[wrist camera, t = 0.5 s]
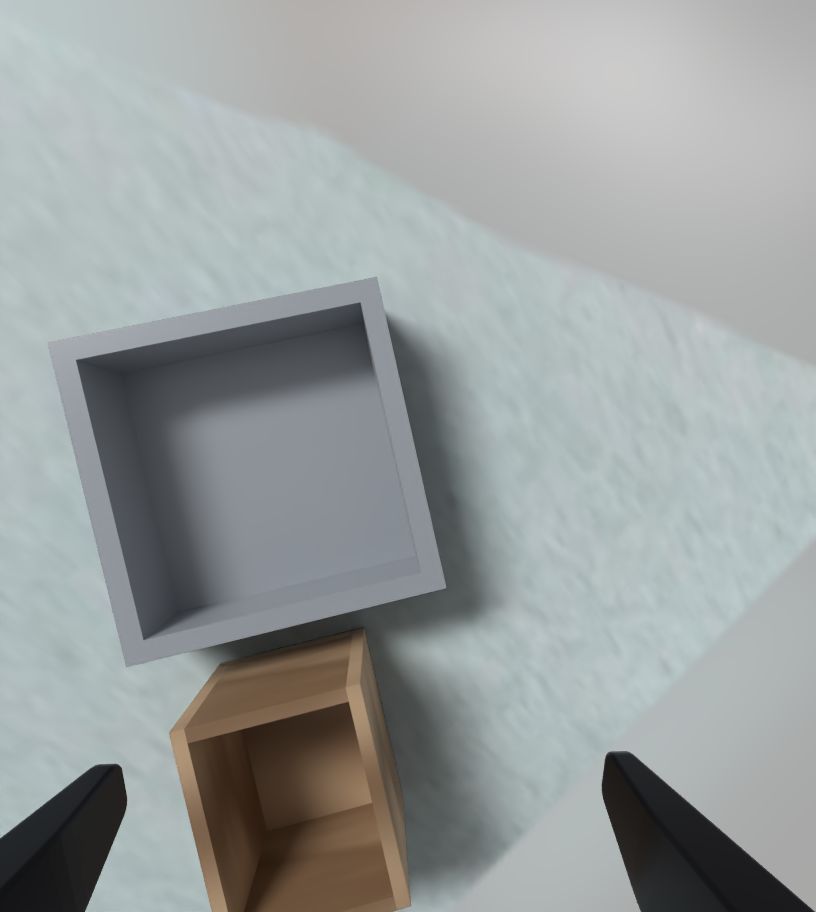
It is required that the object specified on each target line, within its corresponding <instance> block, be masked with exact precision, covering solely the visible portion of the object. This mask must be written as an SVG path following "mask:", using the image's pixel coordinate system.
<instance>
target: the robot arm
mask: <svg viewBox="0 0 816 912" xmlns="http://www.w3.org/2000/svg"><path fill="white" fill-rule="evenodd" d="M602 795H603V800H604V803H605V806H606V809H607V812H608V815H609V818H610V821H611V824H612V827H613V830H614V833H615V837H616V840H617V843H618V846H619V849H620V852H621V855H622V858H623V861H624V864H625V867H626V870H627V873H628V876H629V879H630V883H631V886H632V888H633V891H634V894H635V897H636V900H637V903H638V905H639V908H640V910H641V912H814V911H813V910H812V909H811V908H810V907H809V906H808V905H807V904H805V903H804V902H803V901H802V900H801V899H800V898H798V897H797V896H796V895H795V894H794V893H793V892H791V891H790V890H789V889H788V888H787V887H786V886H785V885H783V884H782V883H781V882H780V881H779V880H777V879H776V878H775V877H774V876H773V875H772V874H771V873H770V872H768V871H767V870H766V869H765V868H764V867H763V866H761V865H760V864H759V863H758V862H757V861H756V860H754V859H753V858H752V857H751V856H750V855H749V854H748V853H746V852H745V851H744V850H743V849H742V848H741V847H739V846H738V845H737V844H736V843H735V842H734V841H732V840H731V839H730V838H729V837H728V836H726V834H724V833H723V832H722V831H721V830H720V829H718V827H716V826H715V825H714V824H713V823H712V822H711V821H709V820H708V819H707V818H706V817H705V816H704V815H702V814H701V813H700V812H699V811H698V810H697V809H696V808H694V807H693V806H692V805H691V804H690V803H689V802H687V801H686V800H685V799H684V798H683V797H682V796H681V795H679V794H678V793H677V792H676V791H675V790H674V789H672V788H671V787H670V786H669V785H668V784H667V783H665V782H664V781H663V780H662V779H661V778H660V777H659V776H657V775H656V774H655V773H654V772H653V771H652V770H650V769H649V768H648V767H647V766H646V765H644V763H642V762H641V761H640V760H639V759H638V758H637V757H635V756H634V755H633V754H631V753H630V752H627V751H618V752H617V751H615V752H608V753H607V755H606V757H605V764H604V771H603V779H602ZM126 806H127V795H126V789H125V783H124V778H123V772H122V768H121V767H120V766H119V765H118V764H99V765H95V766H93V767H92V768H90V769H89V770H88V771H86V772H85V773H84V774H82V775H81V776H80V777H79V778H77V779H76V780H75V781H73V782H72V783H71V784H70V785H68V786H67V787H66V788H64V789H63V790H62V791H61V792H59V793H58V794H57V795H55V796H54V797H53V798H52V799H50V800H49V801H48V802H46V803H45V804H44V805H43V806H41V807H40V808H39V809H37V810H36V811H35V812H34V813H32V814H31V815H30V816H28V817H27V818H26V819H25V820H23V821H22V822H21V823H19V824H18V825H17V826H16V827H14V828H13V829H12V830H10V831H9V832H8V833H7V834H5V835H4V836H3V837H1V838H0V912H85V910H86V908H87V906H88V903H89V901H90V898H91V896H92V893H93V891H94V888H95V886H96V884H97V881H98V879H99V876H100V874H101V871H102V869H103V866H104V864H105V861H106V859H107V856H108V854H109V851H110V849H111V846H112V844H113V842H114V839H115V837H116V834H117V832H118V829H119V827H120V824H121V822H122V819H123V817H124V814H125V811H126Z"/></svg>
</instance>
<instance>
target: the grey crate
mask: <svg viewBox="0 0 816 912" xmlns="http://www.w3.org/2000/svg"><path fill="white" fill-rule="evenodd" d="M48 346H49V350H50V354H51V359H52V363H53V367H54V371H55V375H56V379H57V383H58V387H59V392H60V396H61V400H62V404H63V408H64V412H65V416H66V420H67V425H68V429H69V433H70V437H71V441H72V445H73V449H74V453H75V458H76V462H77V466H78V470H79V474H80V478H81V482H82V486H83V491H84V495H85V499H86V503H87V507H88V511H89V515H90V519H91V524H92V528H93V532H94V536H95V540H96V544H97V548H98V552H99V557H100V561H101V565H102V569H103V573H104V577H105V581H106V585H107V590H108V594H109V598H110V602H111V606H112V610H113V614H114V618H115V623H116V627H117V631H118V635H119V639H120V643H121V647H122V651H123V656H124V660H125V664H126V667H129V666H133V665H137V664H141V663H145V662H149V661H154V660H158V659H162V658H166V657H170V656H174V655H178V654H182V653H186V652H190V651H194V650H198V649H202V648H206V647H210V646H214V645H218V644H222V643H226V642H230V641H235V640H239V639H243V638H247V637H251V636H255V635H259V634H263V633H267V632H271V631H275V630H279V629H283V628H287V627H291V626H295V625H299V624H303V623H307V622H312V621H316V620H320V619H324V618H328V617H332V616H336V615H340V614H344V613H348V612H352V611H356V610H360V609H364V608H368V607H372V606H376V605H380V604H384V603H389V602H393V601H397V600H401V599H405V598H409V597H413V596H417V595H421V594H425V593H429V592H433V591H437V590H441V589H445V588H446V583H445V579H444V574H443V570H442V565H441V561H440V557H439V552H438V548H437V543H436V539H435V534H434V530H433V525H432V521H431V516H430V512H429V507H428V503H427V499H426V494H425V490H424V485H423V481H422V476H421V472H420V467H419V463H418V458H417V454H416V449H415V445H414V441H413V436H412V432H411V427H410V423H409V418H408V414H407V409H406V405H405V400H404V396H403V391H402V387H401V382H400V378H399V374H398V369H397V365H396V360H395V356H394V351H393V347H392V342H391V338H390V333H389V329H388V324H387V320H386V316H385V311H384V307H383V302H382V298H381V293H380V289H379V284H378V280H377V277H374V278H369V279H364V280H359V281H354V282H349V283H344V284H339V285H334V286H329V287H324V288H319V289H314V290H309V291H304V292H299V293H293V294H288V295H283V296H278V297H273V298H268V299H263V300H258V301H253V302H248V303H243V304H238V305H233V306H228V307H223V308H218V309H213V310H208V311H203V312H198V313H193V314H188V315H183V316H178V317H173V318H168V319H163V320H158V321H153V322H148V323H143V324H138V325H133V326H128V327H123V328H118V329H113V330H108V331H103V332H98V333H93V334H88V335H83V336H78V337H73V338H68V339H63V340H58V341H52V342H48Z"/></svg>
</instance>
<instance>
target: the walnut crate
mask: <svg viewBox="0 0 816 912" xmlns="http://www.w3.org/2000/svg"><path fill="white" fill-rule="evenodd" d="M169 735H170V740H171V744H172V748H173V752H174V756H175V760H176V765H177V769H178V773H179V777H180V781H181V785H182V789H183V794H184V798H185V802H186V806H187V810H188V814H189V818H190V823H191V827H192V831H193V835H194V839H195V843H196V848H197V852H198V856H199V860H200V864H201V868H202V872H203V877H204V881H205V885H206V889H207V893H208V897H209V901H210V906H211V910H212V912H393V911H396V910H399V909H403V908H406V907H410V906H411V898H410V885H409V872H408V858H407V845H406V832H405V819H404V805H403V795H402V791H401V787H400V782H399V778H398V774H397V769H396V765H395V761H394V756H393V752H392V747H391V743H390V739H389V734H388V730H387V726H386V721H385V717H384V712H383V708H382V704H381V699H380V695H379V691H378V686H377V682H376V678H375V673H374V669H373V664H372V660H371V656H370V651H369V647H368V643H367V638H366V634H365V630H364V628H361V629H357V630H353V631H349V632H345V633H341V634H337V635H333V636H329V637H325V638H321V639H317V640H313V641H309V642H305V643H301V644H297V645H293V646H289V647H285V648H281V649H277V650H273V651H269V652H265V653H261V654H257V655H253V656H249V657H245V658H241V659H236V660H232V661H228V662H224V663H220V665H219V666H218V667H217V669H216V670H215V671H214V673H213V674H212V675H211V677H210V678H209V680H208V681H207V682H206V684H205V685H204V686H203V688H202V689H201V690H200V692H199V693H198V694H197V696H196V697H195V698H194V700H193V701H192V703H191V704H190V705H189V707H188V708H187V709H186V711H185V712H184V713H183V715H182V716H181V717H180V719H179V720H178V721H177V723H176V724H175V726H174V727H173V728H172V730H171V731H170V732H169Z"/></svg>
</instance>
